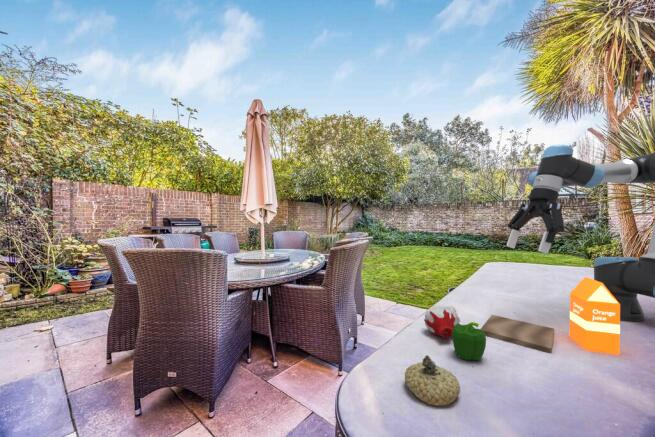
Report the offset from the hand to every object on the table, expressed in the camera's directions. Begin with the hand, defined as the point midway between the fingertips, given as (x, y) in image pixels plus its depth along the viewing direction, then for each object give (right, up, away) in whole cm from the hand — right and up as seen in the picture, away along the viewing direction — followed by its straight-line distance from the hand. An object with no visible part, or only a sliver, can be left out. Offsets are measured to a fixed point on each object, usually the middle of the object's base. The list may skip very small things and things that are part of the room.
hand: (525, 249), depth 89 cm
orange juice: (+14, -28, -9) cm, 33 cm away
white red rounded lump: (-29, -28, -2) cm, 41 cm away
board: (-4, -28, -1) cm, 28 cm away
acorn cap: (-44, -28, -30) cm, 60 cm away
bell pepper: (-28, -28, -16) cm, 43 cm away
